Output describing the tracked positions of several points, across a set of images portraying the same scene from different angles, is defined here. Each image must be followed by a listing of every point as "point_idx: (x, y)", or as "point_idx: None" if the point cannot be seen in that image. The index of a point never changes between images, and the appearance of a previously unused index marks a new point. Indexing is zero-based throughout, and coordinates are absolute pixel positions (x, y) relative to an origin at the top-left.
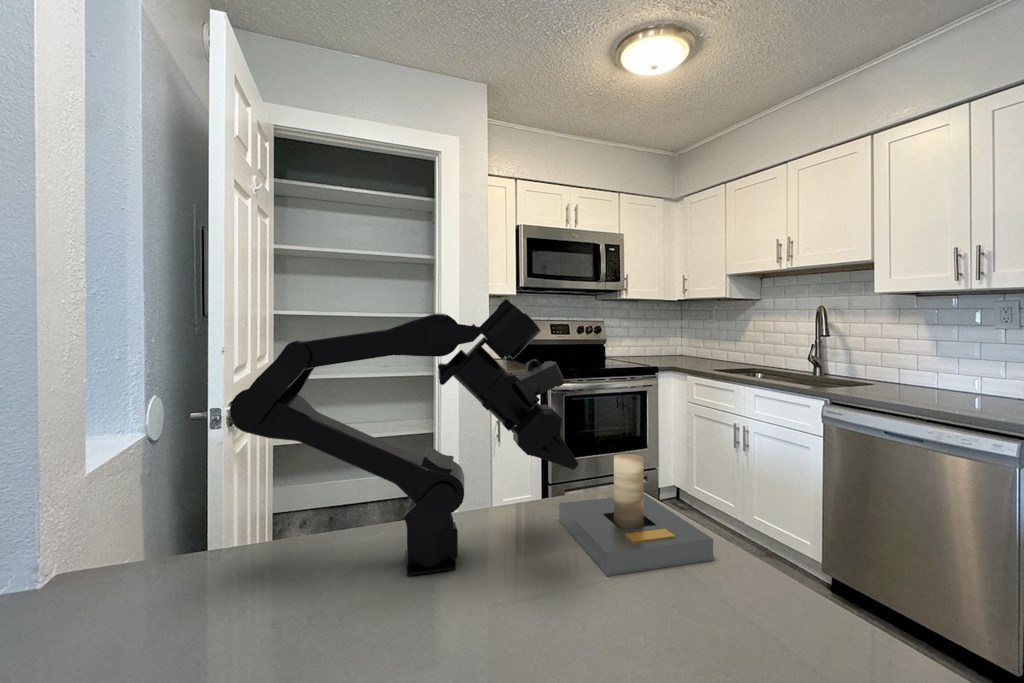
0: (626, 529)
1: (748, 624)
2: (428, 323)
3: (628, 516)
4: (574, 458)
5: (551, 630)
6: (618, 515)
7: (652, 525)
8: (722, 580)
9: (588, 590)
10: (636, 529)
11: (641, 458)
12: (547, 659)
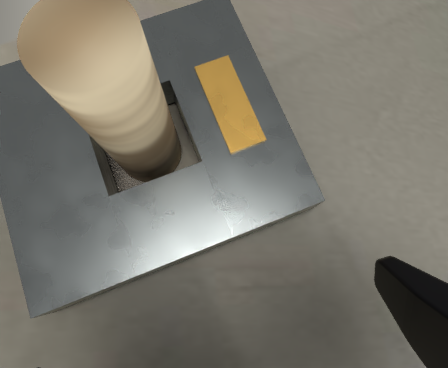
0: (200, 147)
1: (395, 29)
2: None
3: (172, 132)
4: (430, 277)
5: None
6: (159, 155)
7: None
8: (284, 27)
9: (359, 246)
10: (198, 125)
11: None
12: None
